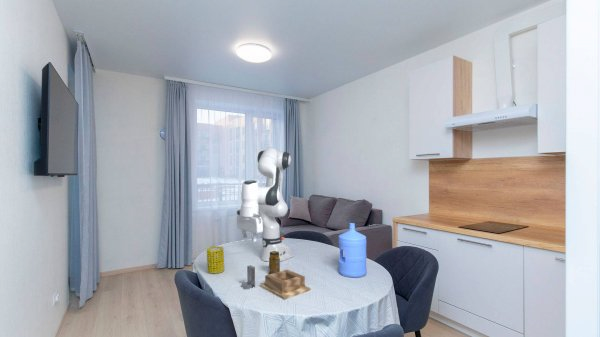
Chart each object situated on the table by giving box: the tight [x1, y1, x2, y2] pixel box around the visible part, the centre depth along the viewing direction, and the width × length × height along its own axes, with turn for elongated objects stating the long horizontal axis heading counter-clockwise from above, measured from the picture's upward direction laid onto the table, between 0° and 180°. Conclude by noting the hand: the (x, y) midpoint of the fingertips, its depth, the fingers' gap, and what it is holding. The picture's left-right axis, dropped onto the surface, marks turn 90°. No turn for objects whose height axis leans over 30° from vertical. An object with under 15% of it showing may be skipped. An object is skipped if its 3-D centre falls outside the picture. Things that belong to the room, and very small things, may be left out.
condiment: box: [266, 251, 281, 275], centre depth 164 cm, size 7×8×12 cm
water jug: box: [338, 222, 368, 278], centre depth 165 cm, size 16×16×28 cm
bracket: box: [241, 264, 256, 290], centre depth 145 cm, size 5×4×10 cm
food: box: [206, 245, 225, 275], centre depth 168 cm, size 15×12×10 cm
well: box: [259, 268, 311, 301], centre depth 144 cm, size 16×20×6 cm
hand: (249, 239), depth 147 cm, fingers open, 8 cm apart
